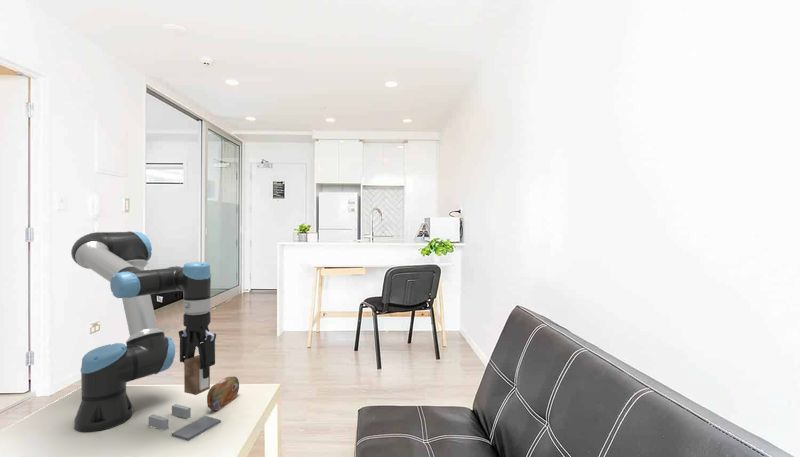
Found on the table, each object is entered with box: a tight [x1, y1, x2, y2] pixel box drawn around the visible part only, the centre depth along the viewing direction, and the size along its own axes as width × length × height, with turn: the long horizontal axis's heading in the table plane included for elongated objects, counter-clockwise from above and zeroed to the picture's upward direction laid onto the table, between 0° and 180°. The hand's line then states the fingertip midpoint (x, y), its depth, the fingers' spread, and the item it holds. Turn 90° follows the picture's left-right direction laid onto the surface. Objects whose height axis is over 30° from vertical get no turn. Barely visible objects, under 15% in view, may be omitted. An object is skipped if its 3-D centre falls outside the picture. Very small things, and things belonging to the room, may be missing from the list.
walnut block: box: [183, 354, 211, 396], centre depth 123 cm, size 5×5×10 cm
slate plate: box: [171, 415, 222, 442], centre depth 124 cm, size 7×12×1 cm, turn 157°
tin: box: [206, 376, 240, 411], centre depth 141 cm, size 15×3×8 cm, turn 168°
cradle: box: [148, 403, 192, 431], centre depth 128 cm, size 7×10×3 cm
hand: (197, 386), depth 123 cm, fingers closed on walnut block, 5 cm apart
